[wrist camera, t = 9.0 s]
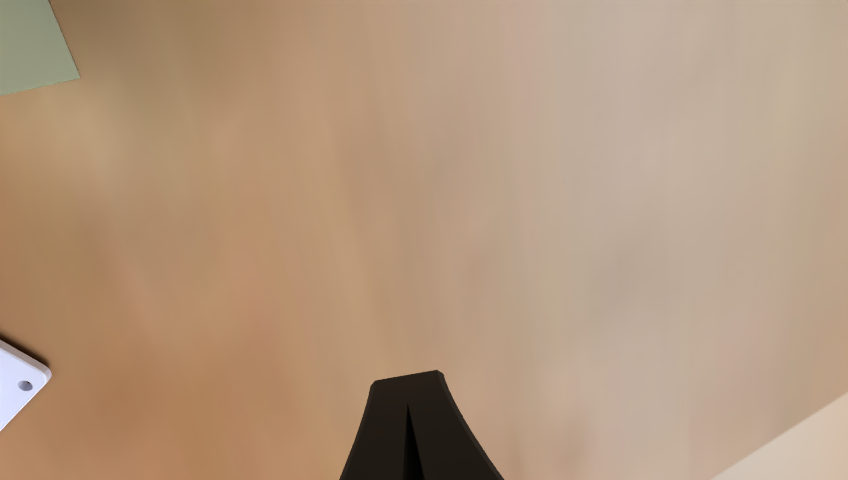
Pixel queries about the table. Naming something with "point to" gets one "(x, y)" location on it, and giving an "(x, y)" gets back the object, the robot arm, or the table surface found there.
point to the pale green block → (32, 47)
